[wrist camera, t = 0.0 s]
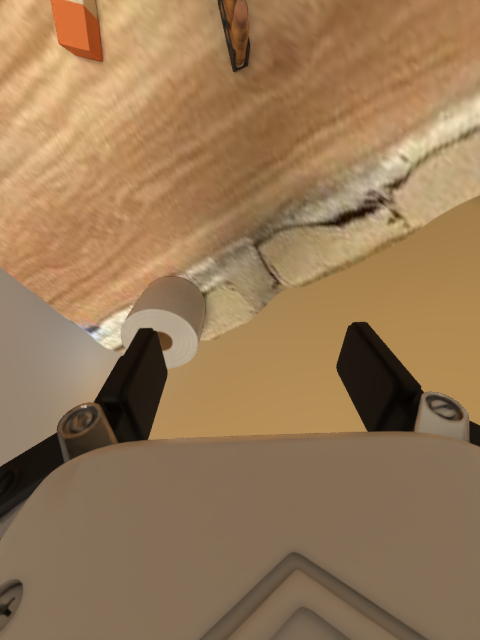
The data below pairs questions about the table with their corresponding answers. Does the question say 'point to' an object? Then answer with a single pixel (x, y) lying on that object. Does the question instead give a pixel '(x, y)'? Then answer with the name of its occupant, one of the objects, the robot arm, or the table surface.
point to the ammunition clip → (236, 31)
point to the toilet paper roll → (169, 318)
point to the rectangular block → (78, 27)
